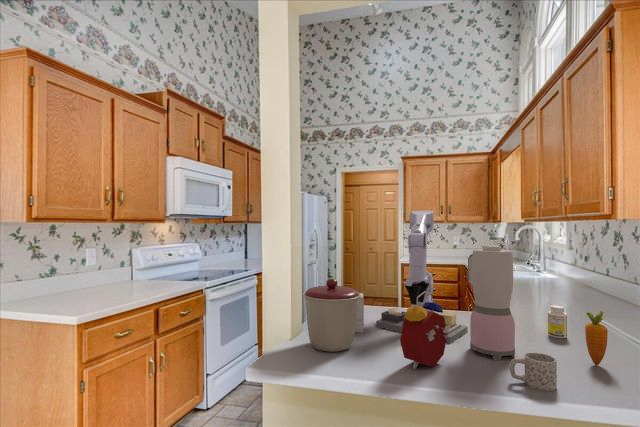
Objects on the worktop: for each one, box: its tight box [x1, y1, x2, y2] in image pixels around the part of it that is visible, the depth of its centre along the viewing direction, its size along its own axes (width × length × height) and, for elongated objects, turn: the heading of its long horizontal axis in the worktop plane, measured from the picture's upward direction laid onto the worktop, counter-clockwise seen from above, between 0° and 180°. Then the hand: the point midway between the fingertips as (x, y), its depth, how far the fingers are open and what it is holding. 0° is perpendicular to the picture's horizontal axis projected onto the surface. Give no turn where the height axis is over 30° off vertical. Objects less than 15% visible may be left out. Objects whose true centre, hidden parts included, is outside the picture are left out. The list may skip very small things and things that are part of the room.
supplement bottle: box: [547, 305, 568, 339], centre depth 126 cm, size 6×6×10 cm
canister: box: [302, 278, 361, 353], centre depth 114 cm, size 18×18×21 cm
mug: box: [509, 352, 558, 392], centre depth 89 cm, size 10×7×7 cm, turn 75°
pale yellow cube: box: [440, 312, 457, 328], centre depth 129 cm, size 4×4×4 cm
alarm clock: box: [399, 291, 451, 370], centre depth 100 cm, size 15×9×20 cm, turn 133°
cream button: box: [387, 308, 403, 315], centre depth 139 cm, size 5×5×2 cm
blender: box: [467, 245, 516, 361], centre depth 112 cm, size 16×12×32 cm
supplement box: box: [355, 292, 365, 334], centre depth 132 cm, size 7×7×13 cm
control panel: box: [375, 310, 469, 344], centre depth 133 cm, size 16×28×4 cm, turn 50°
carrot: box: [584, 310, 609, 367], centre depth 101 cm, size 5×5×15 cm
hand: (417, 303), depth 133 cm, fingers open, 4 cm apart
